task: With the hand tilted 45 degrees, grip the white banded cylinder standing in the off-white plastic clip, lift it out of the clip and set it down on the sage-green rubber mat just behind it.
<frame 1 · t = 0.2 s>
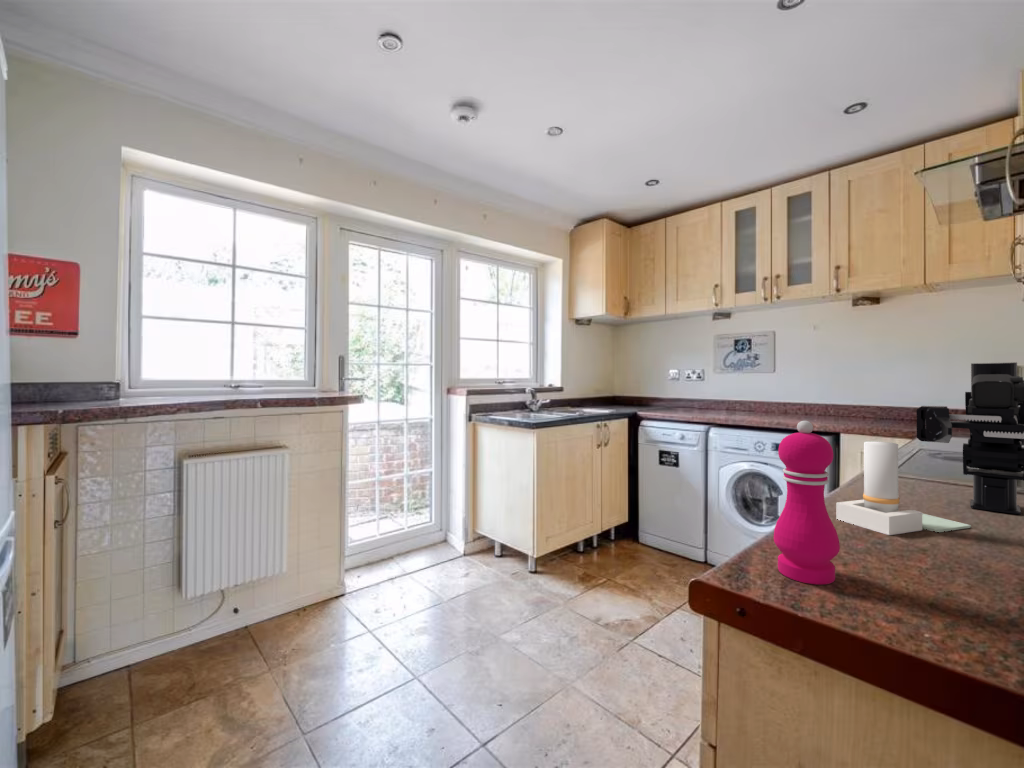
hand: (991, 433, 70), 17 cm above the worktop, tool horizontal, fingers open, 9 cm apart
pepper mill: (805, 575, 59), on the worktop
white banded cylinder: (880, 483, 79), in the clip bracket
clip bracket: (881, 524, 79), on the worktop
sage mat: (926, 522, 79), on the worktop
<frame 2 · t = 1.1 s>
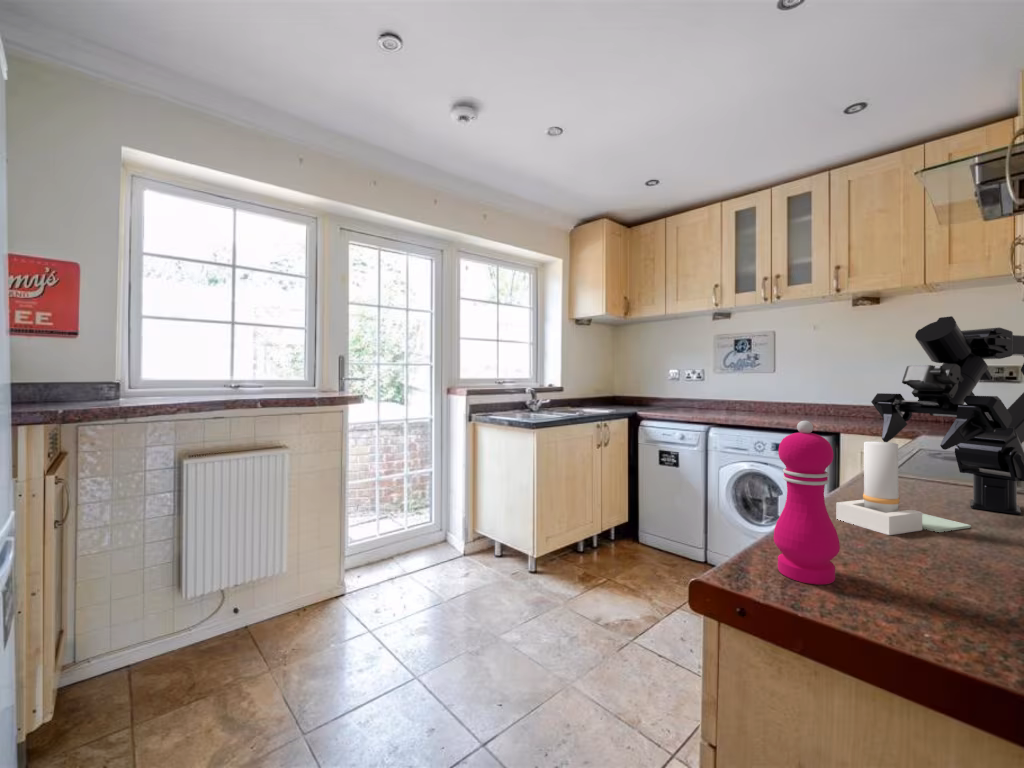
hand: (911, 444, 81), 13 cm above the worktop, tool tilted 45°, fingers open, 9 cm apart
nothing on the worktop moved.
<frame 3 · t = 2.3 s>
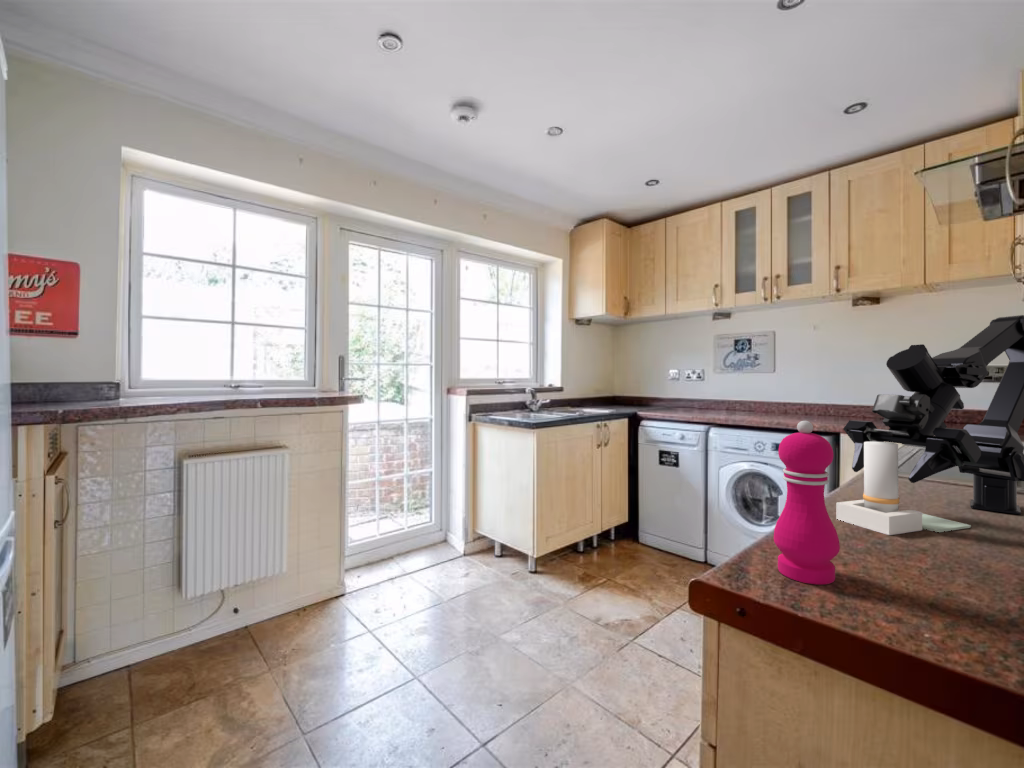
hand: (880, 475, 79), 8 cm above the worktop, tool tilted 45°, fingers open, 9 cm apart
nothing on the worktop moved.
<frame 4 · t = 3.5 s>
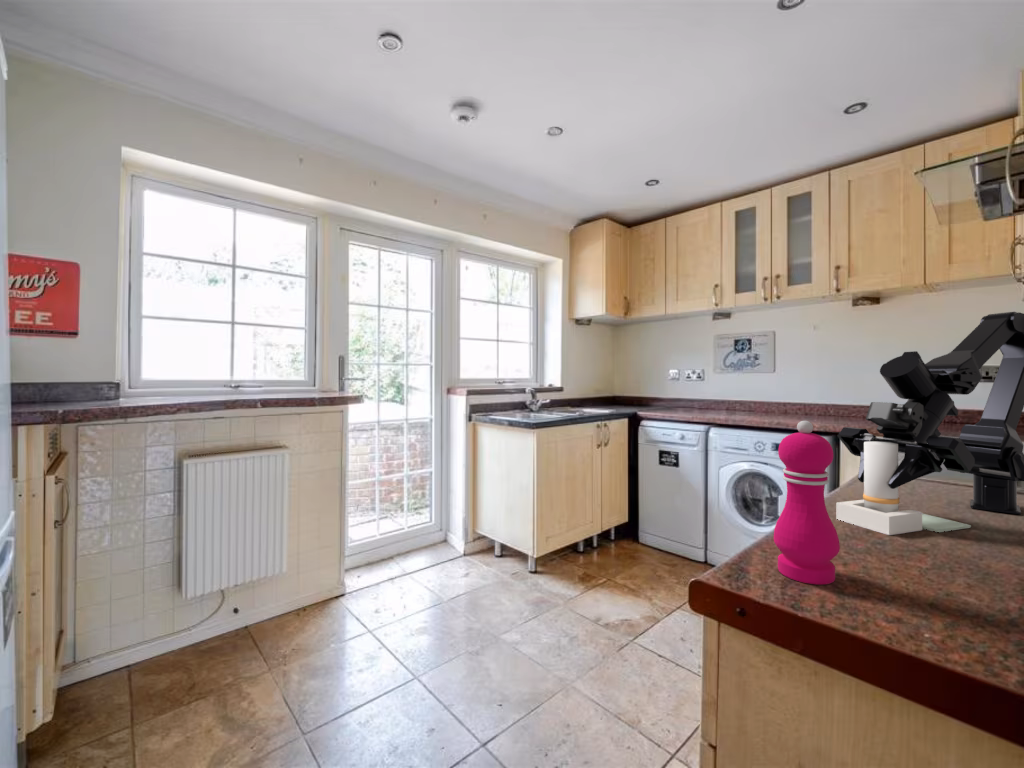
hand: (874, 483, 79), 7 cm above the worktop, tool tilted 45°, fingers closed on white banded cylinder, 5 cm apart
white banded cylinder: (880, 483, 79), in the clip bracket, touching gripper
everything else where it was.
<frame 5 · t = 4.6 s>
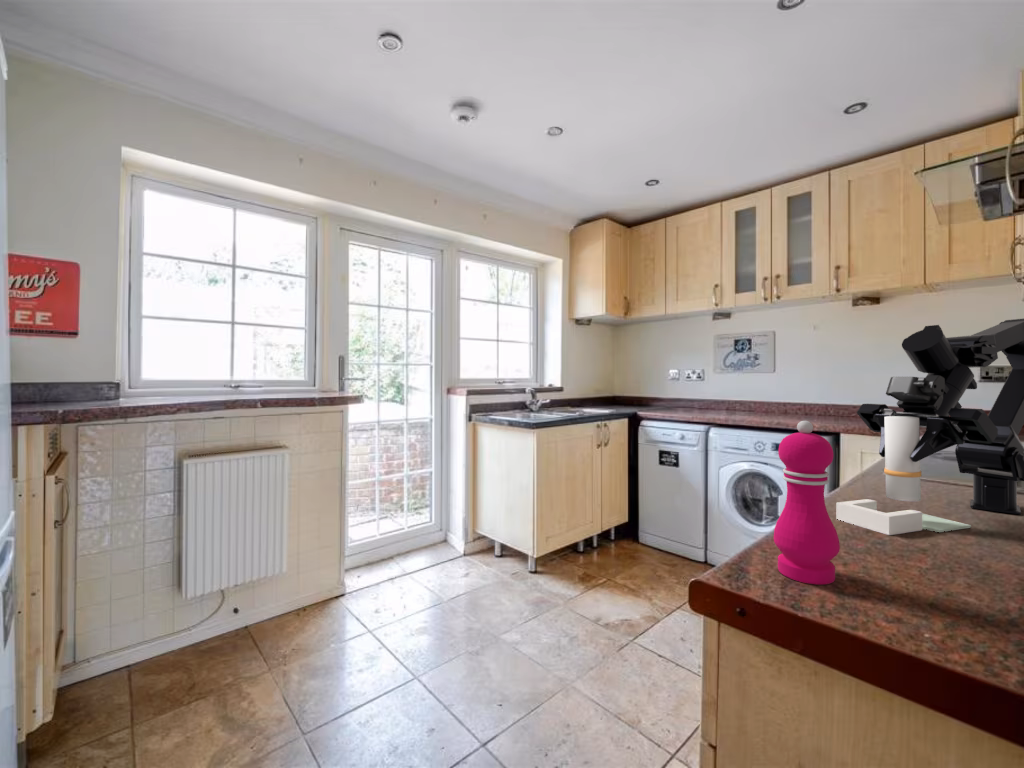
hand: (896, 457, 79), 11 cm above the worktop, tool tilted 45°, fingers closed on white banded cylinder, 5 cm apart
white banded cylinder: (902, 457, 79), point 11 cm above the worktop, touching gripper
everything else where it was.
when the fingers open (8 cm above the worktop, at t = 6.2 s): white banded cylinder stays where it is, resting on sage mat.
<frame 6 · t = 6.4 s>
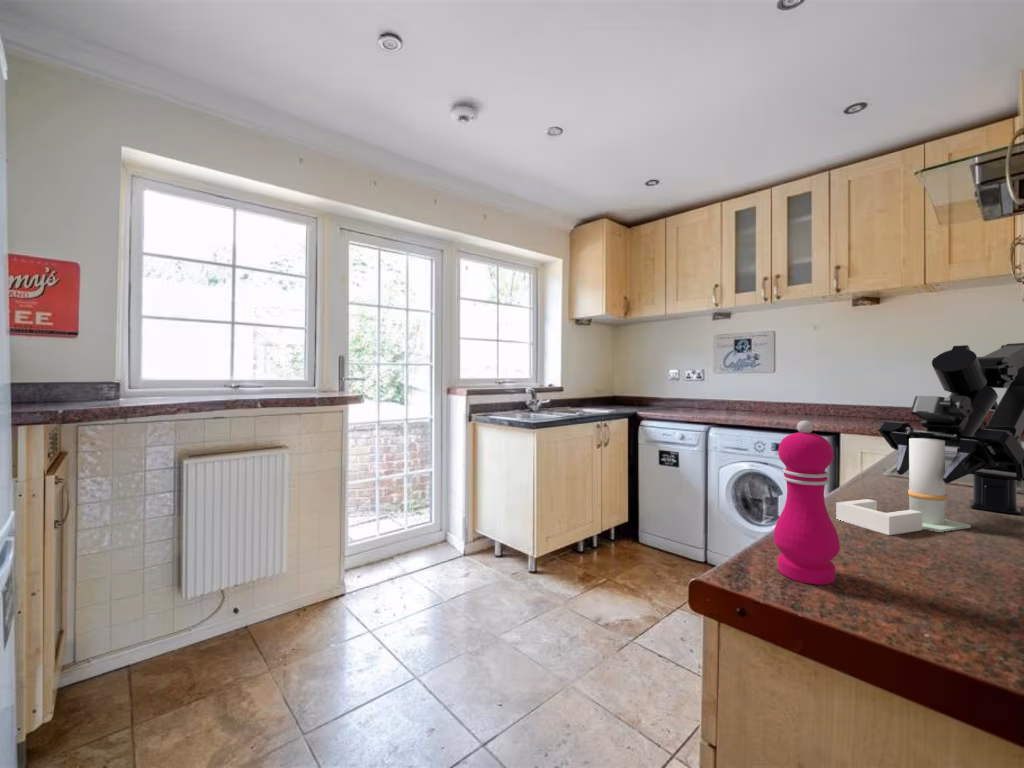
hand: (920, 477, 79), 8 cm above the worktop, tool tilted 45°, fingers open, 7 cm apart
white banded cylinder: (926, 480, 79), on the sage mat
everything else where it was.
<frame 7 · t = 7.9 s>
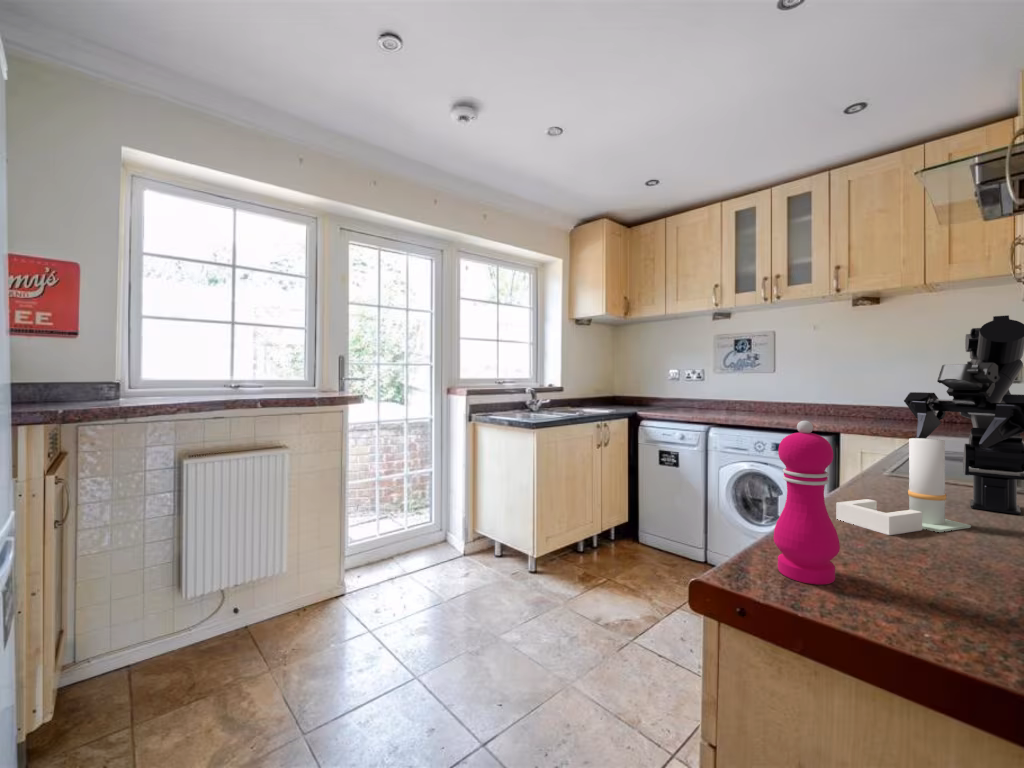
hand: (948, 443, 81), 14 cm above the worktop, tool tilted 45°, fingers open, 9 cm apart
nothing on the worktop moved.
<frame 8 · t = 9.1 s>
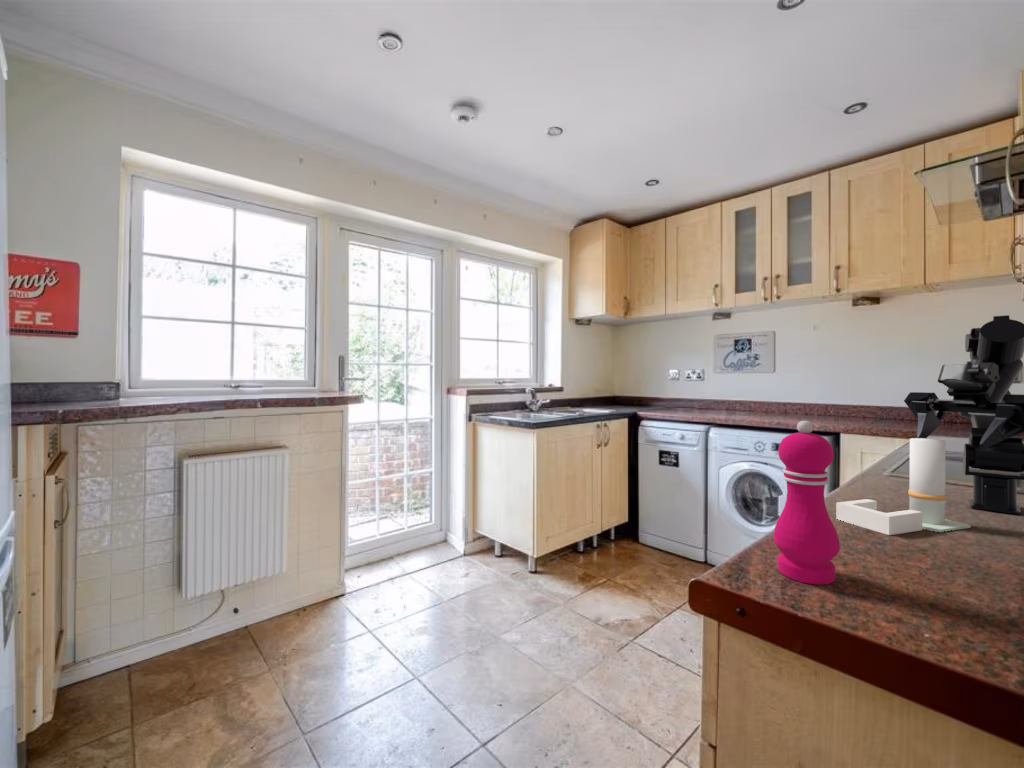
hand: (948, 443, 81), 14 cm above the worktop, tool tilted 45°, fingers open, 9 cm apart
nothing on the worktop moved.
at the end: white banded cylinder 0.1 cm from the sage mat (horizontally); white banded cylinder tilted 0°; the gripper is holding nothing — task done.
